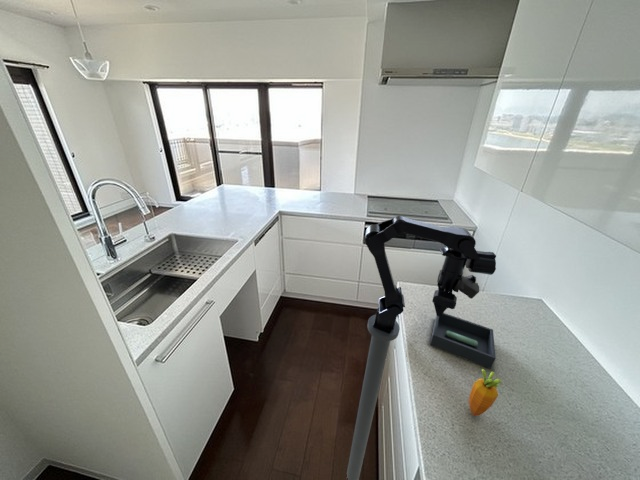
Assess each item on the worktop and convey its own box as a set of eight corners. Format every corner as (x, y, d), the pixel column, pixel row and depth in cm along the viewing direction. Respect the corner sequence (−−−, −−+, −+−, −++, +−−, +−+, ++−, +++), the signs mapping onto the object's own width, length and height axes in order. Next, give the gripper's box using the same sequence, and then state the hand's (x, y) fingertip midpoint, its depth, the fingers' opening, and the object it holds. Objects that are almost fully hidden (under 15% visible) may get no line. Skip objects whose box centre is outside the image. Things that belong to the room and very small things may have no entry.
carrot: (458, 405, 67) (475, 366, 61) (475, 404, 68) (495, 365, 61) (469, 425, 63) (490, 385, 56) (488, 424, 63) (510, 384, 57)
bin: (429, 345, 85) (433, 334, 83) (434, 320, 96) (437, 310, 94) (490, 369, 78) (495, 358, 76) (488, 339, 89) (493, 329, 87)
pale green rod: (444, 336, 88) (445, 331, 87) (444, 333, 90) (446, 328, 89) (477, 348, 84) (479, 343, 83) (476, 345, 85) (478, 340, 85)
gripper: (483, 292, 68) (465, 335, 75) (481, 263, 83) (467, 301, 90) (438, 279, 73) (426, 321, 80) (444, 253, 88) (433, 290, 95)
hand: (439, 307), depth 86 cm, fingers open, 9 cm apart
